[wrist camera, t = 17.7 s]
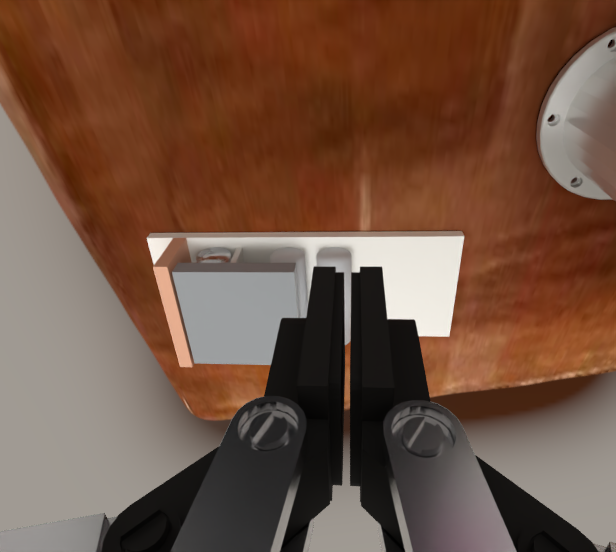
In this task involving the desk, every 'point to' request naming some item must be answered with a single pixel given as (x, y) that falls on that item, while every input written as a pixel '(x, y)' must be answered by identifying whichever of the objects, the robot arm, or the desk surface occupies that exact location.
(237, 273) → the slab
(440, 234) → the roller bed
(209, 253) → the roller
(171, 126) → the desk surface
